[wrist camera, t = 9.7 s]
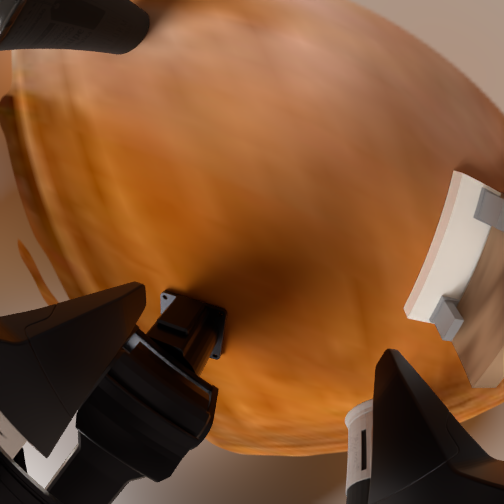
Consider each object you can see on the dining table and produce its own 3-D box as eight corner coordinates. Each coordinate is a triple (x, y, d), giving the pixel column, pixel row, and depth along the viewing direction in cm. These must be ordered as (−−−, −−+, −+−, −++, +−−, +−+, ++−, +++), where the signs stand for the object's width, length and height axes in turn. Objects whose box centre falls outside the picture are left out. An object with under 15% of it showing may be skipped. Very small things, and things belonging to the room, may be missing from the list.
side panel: (485, 325, 19) (502, 353, 15) (403, 308, 20) (416, 341, 16) (533, 214, 14) (560, 230, 10) (453, 170, 15) (483, 179, 11)
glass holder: (351, 437, 29) (344, 532, 15) (326, 379, 25) (312, 516, 11) (412, 422, 26) (421, 518, 12) (409, 356, 22) (435, 495, 8)
